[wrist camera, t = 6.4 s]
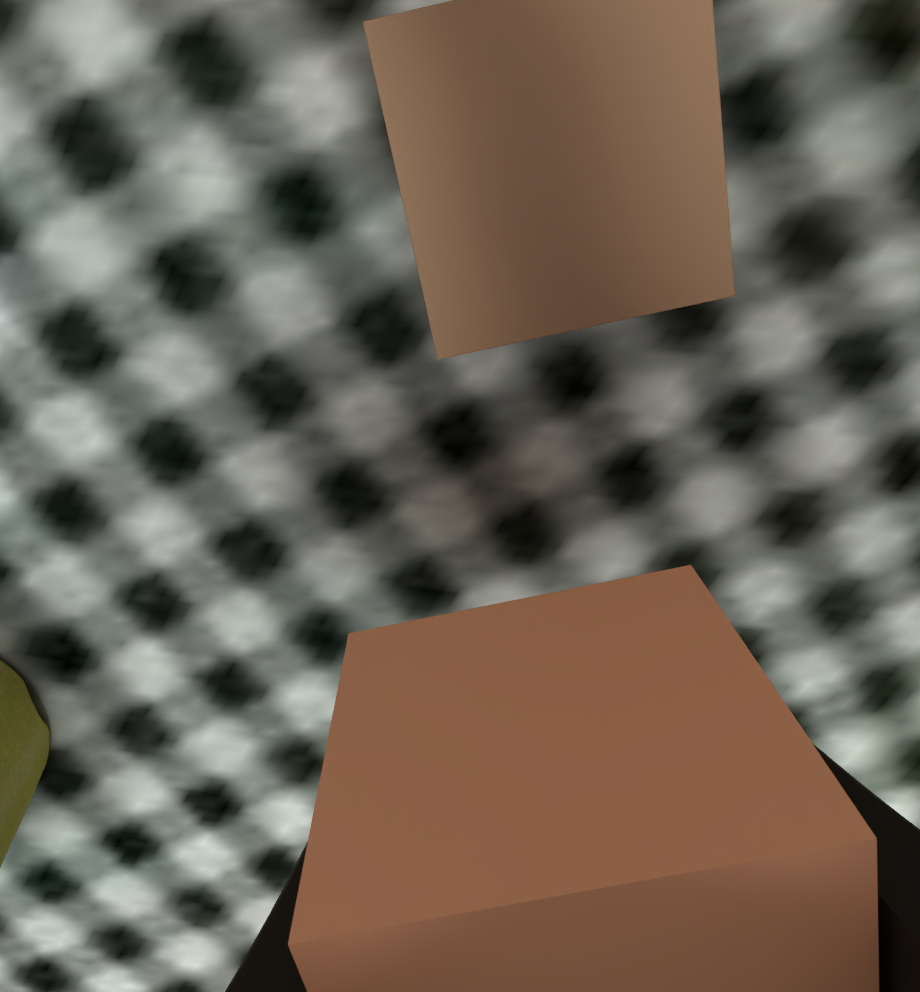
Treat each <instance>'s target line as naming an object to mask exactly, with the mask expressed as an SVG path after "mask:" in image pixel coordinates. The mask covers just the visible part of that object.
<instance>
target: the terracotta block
mask: <svg viewBox="0 0 920 992" xmlns="http://www.w3.org/2000/svg"><path fill="white" fill-rule="evenodd" d="M288 946H289V949H290V951H291V954H292V956H293V958H294V961H295V963H296V966H297V968H298V971H299V973H300V975H301V978H302V980H303V983H304V985H305V988H306V990H307V992H879V947H878V884H877V838H876V836H875V835H874V833H873V832H872V831H871V829H870V828H869V826H868V825H867V823H866V822H865V820H864V819H863V817H862V816H861V814H860V813H859V811H858V810H857V808H856V807H855V806H854V804H853V803H852V801H851V800H850V798H849V797H848V795H847V794H846V792H845V791H844V789H843V788H842V786H841V785H840V783H839V782H838V780H837V779H836V778H835V776H834V775H833V773H832V772H831V770H830V769H829V767H828V766H827V764H826V763H825V761H824V760H823V758H822V757H821V755H820V754H819V753H818V751H817V750H816V748H815V747H814V745H813V744H812V742H811V741H810V739H809V738H808V736H807V735H806V733H805V732H804V730H803V729H802V728H801V726H800V725H799V723H798V722H797V720H796V719H795V717H794V716H793V714H792V713H791V711H790V710H789V708H788V707H787V705H786V704H785V703H784V701H783V700H782V698H781V697H780V695H779V694H778V692H777V691H776V689H775V688H774V686H773V685H772V683H771V682H770V680H769V679H768V677H767V676H766V675H765V673H764V672H763V670H762V669H761V667H760V666H759V664H758V663H757V661H756V660H755V658H754V657H753V655H752V654H751V652H750V651H749V650H748V648H747V647H746V645H745V644H744V642H743V641H742V639H741V638H740V636H739V635H738V633H737V632H736V630H735V629H734V627H733V626H732V625H731V623H730V622H729V620H728V619H727V617H726V616H725V614H724V613H723V611H722V610H721V608H720V607H719V605H718V604H717V602H716V601H715V599H714V598H713V597H712V595H711V594H710V592H709V591H708V589H707V588H706V586H705V585H704V583H703V582H702V580H701V579H700V577H699V576H698V574H697V573H696V572H695V570H694V569H693V567H692V566H691V565H688V566H683V567H678V568H673V569H668V570H663V571H658V572H653V573H648V574H643V575H638V576H633V577H628V578H623V579H618V580H613V581H608V582H603V583H598V584H593V585H588V586H583V587H578V588H573V589H568V590H563V591H558V592H553V593H548V594H543V595H538V596H533V597H528V598H523V599H518V600H513V601H508V602H503V603H498V604H493V605H488V606H483V607H478V608H473V609H468V610H463V611H458V612H453V613H448V614H443V615H438V616H433V617H428V618H423V619H418V620H413V621H408V622H403V623H398V624H393V625H388V626H383V627H378V628H373V629H368V630H363V631H358V632H353V633H349V634H348V639H347V645H346V650H345V655H344V660H343V665H342V670H341V675H340V680H339V685H338V691H337V696H336V701H335V706H334V711H333V716H332V721H331V726H330V731H329V737H328V742H327V747H326V752H325V757H324V762H323V767H322V772H321V777H320V783H319V788H318V793H317V798H316V803H315V808H314V813H313V818H312V823H311V829H310V834H309V839H308V844H307V849H306V854H305V859H304V864H303V869H302V875H301V880H300V885H299V890H298V895H297V900H296V905H295V910H294V915H293V921H292V926H291V931H290V936H289V941H288Z"/></svg>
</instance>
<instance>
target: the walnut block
mask: <svg viewBox="0 0 920 992" xmlns="http://www.w3.org/2000/svg"><path fill="white" fill-rule="evenodd" d="M363 24H364V29H365V33H366V38H367V42H368V47H369V52H370V56H371V61H372V65H373V70H374V74H375V79H376V83H377V88H378V92H379V97H380V101H381V106H382V110H383V115H384V119H385V124H386V128H387V133H388V137H389V142H390V146H391V151H392V155H393V160H394V164H395V169H396V174H397V178H398V183H399V187H400V192H401V196H402V201H403V205H404V210H405V214H406V219H407V223H408V228H409V232H410V237H411V241H412V246H413V250H414V255H415V259H416V264H417V268H418V273H419V277H420V282H421V287H422V291H423V296H424V300H425V305H426V309H427V314H428V318H429V323H430V327H431V332H432V336H433V341H434V345H435V350H436V354H437V359H442V358H447V357H452V356H456V355H461V354H466V353H470V352H475V351H480V350H484V349H489V348H494V347H498V346H503V345H508V344H512V343H517V342H522V341H526V340H531V339H536V338H540V337H545V336H550V335H554V334H559V333H564V332H568V331H573V330H578V329H582V328H587V327H592V326H596V325H601V324H605V323H610V322H615V321H619V320H624V319H629V318H633V317H638V316H643V315H647V314H652V313H657V312H661V311H666V310H671V309H675V308H680V307H685V306H689V305H694V304H699V303H703V302H708V301H713V300H717V299H722V298H727V297H731V296H735V290H734V277H733V264H732V251H731V237H730V224H729V211H728V198H727V185H726V171H725V158H724V145H723V132H722V119H721V105H720V92H719V79H718V66H717V53H716V39H715V26H714V13H713V0H453V1H449V2H445V3H440V4H436V5H432V6H428V7H423V8H419V9H415V10H411V11H407V12H402V13H398V14H394V15H390V16H385V17H381V18H377V19H373V20H369V21H364V22H363Z"/></svg>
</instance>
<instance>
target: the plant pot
mask: <svg viewBox="0 0 920 992" xmlns="http://www.w3.org/2000/svg"><path fill="white" fill-rule="evenodd" d="M49 744H50V734H49V729H48V726H47V725H46V724H45V723H44V722H43V720H42V719H41V718H40V716H39V714H38V712H37V710H36V708H35V706H34V704H33V702H32V700H31V698H30V695H29V693H28V690H27V687H26V685H25V683H24V681H23V680H22V678H21V677H20V676H19V675H18V674H17V673H16V672H15V671H14V670H12V669H11V668H10V667H9V666H8V665H6V664H5V663H4V662H2V661H1V660H0V867H1V865H2V862H3V860H4V858H5V855H6V853H7V851H8V849H9V846H10V844H11V842H12V839H13V837H14V835H15V833H16V831H17V829H18V827H19V825H20V823H21V820H22V818H23V816H24V814H25V812H26V809H27V807H28V805H29V803H30V801H31V798H32V796H33V794H34V791H35V789H36V787H37V784H38V782H39V779H40V777H41V775H42V772H43V770H44V768H45V765H46V762H47V759H48V753H49Z"/></svg>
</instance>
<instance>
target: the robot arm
mask: <svg viewBox="0 0 920 992" xmlns="http://www.w3.org/2000/svg"><path fill="white" fill-rule="evenodd" d="M812 744H813V743H812ZM813 745H814V744H813ZM814 747H815V748H816V750H817V751H818V753H819V754H820V755H821V757H822V758H823V760H824V761H825V763H826V764H827V766H828V767H829V769H830V770H831V772H832V773H833V775H834V776H835V778H836V779H837V780H838V782H839V783H840V785H841V786H842V788H843V789H844V791H845V792H846V794H847V795H848V797H849V798H850V800H851V801H852V803H853V804H854V806H855V807H856V808H857V810H858V811H859V813H860V814H861V816H862V817H863V819H864V820H865V822H866V823H867V825H868V826H869V828H870V829H871V831H872V832H873V833H874V835H875V836H876V838H877V884H878V947H879V992H920V829H918V828H917V827H916V826H914V825H913V824H912V823H910V822H909V821H908V820H906V819H905V818H904V817H903V816H901V815H900V814H899V813H897V812H896V811H895V810H894V809H892V808H891V807H890V806H888V805H887V804H886V803H885V802H883V801H882V800H881V799H880V798H878V797H877V796H876V795H875V794H873V793H872V792H871V791H870V790H868V789H867V788H866V787H865V786H863V785H862V784H861V783H860V782H858V781H857V780H856V779H855V778H854V777H852V776H851V775H850V774H849V773H847V772H846V771H845V770H844V769H843V768H841V767H840V766H839V765H838V764H837V763H835V762H834V761H833V760H832V759H831V758H829V757H828V756H827V755H826V754H825V753H823V752H822V751H821V750H820V749H819V748H817V747H816V746H815V745H814ZM307 844H308V842H307ZM307 844H306V846H305V848H304V850H303V852H302V854H301V856H300V858H299V860H298V862H297V864H296V866H295V867H294V869H293V871H292V873H291V875H290V877H289V879H288V881H287V883H286V885H285V887H284V888H283V890H282V892H281V894H280V896H279V898H278V900H277V901H276V903H275V905H274V907H273V909H272V911H271V913H270V914H269V916H268V918H267V920H266V922H265V923H264V925H263V927H262V929H261V930H260V932H259V934H258V936H257V937H256V939H255V941H254V943H253V945H252V946H251V948H250V950H249V952H248V953H247V955H246V957H245V959H244V960H243V962H242V964H241V966H240V967H239V969H238V971H237V973H236V974H235V976H234V978H233V979H232V981H231V983H230V984H229V986H228V988H227V989H226V991H225V992H307V990H306V988H305V985H304V983H303V980H302V978H301V975H300V973H299V971H298V968H297V966H296V963H295V961H294V958H293V956H292V954H291V951H290V949H289V946H288V941H289V936H290V931H291V926H292V921H293V915H294V910H295V905H296V900H297V895H298V890H299V885H300V880H301V875H302V869H303V864H304V859H305V854H306V849H307Z"/></svg>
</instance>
